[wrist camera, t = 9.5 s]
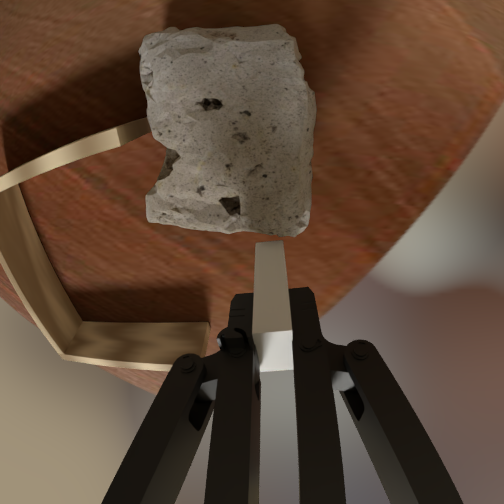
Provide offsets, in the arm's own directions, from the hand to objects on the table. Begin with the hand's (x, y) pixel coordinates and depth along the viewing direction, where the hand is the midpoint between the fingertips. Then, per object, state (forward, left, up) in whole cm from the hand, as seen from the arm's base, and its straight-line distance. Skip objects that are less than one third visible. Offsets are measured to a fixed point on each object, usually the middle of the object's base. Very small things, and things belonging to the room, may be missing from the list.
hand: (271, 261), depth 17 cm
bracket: (-15, 0, -4) cm, 15 cm away
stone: (-7, +7, -1) cm, 10 cm away
